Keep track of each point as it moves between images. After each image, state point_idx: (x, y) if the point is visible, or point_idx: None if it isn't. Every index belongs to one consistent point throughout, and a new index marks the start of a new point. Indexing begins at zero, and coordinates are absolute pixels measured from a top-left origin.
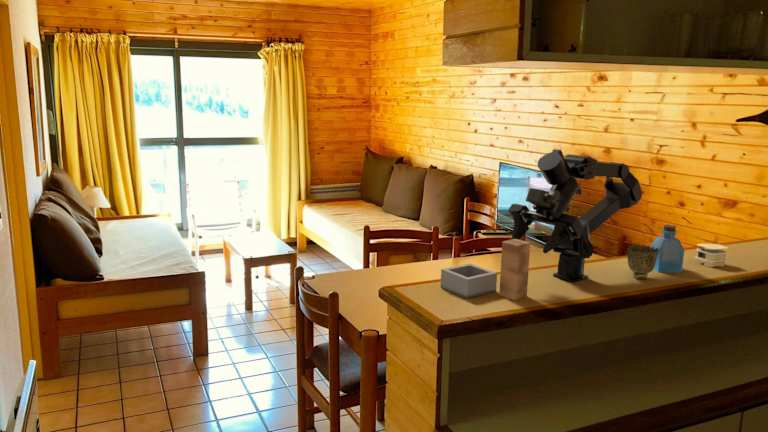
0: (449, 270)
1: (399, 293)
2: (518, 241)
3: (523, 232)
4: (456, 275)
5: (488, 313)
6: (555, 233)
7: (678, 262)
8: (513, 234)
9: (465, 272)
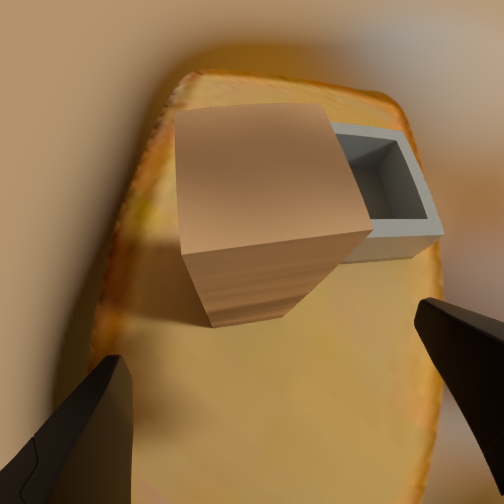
0: (389, 138)
1: (363, 94)
2: (274, 186)
3: (487, 434)
4: (343, 124)
5: (170, 144)
6: (9, 490)
7: None
8: (479, 318)
9: (410, 212)
